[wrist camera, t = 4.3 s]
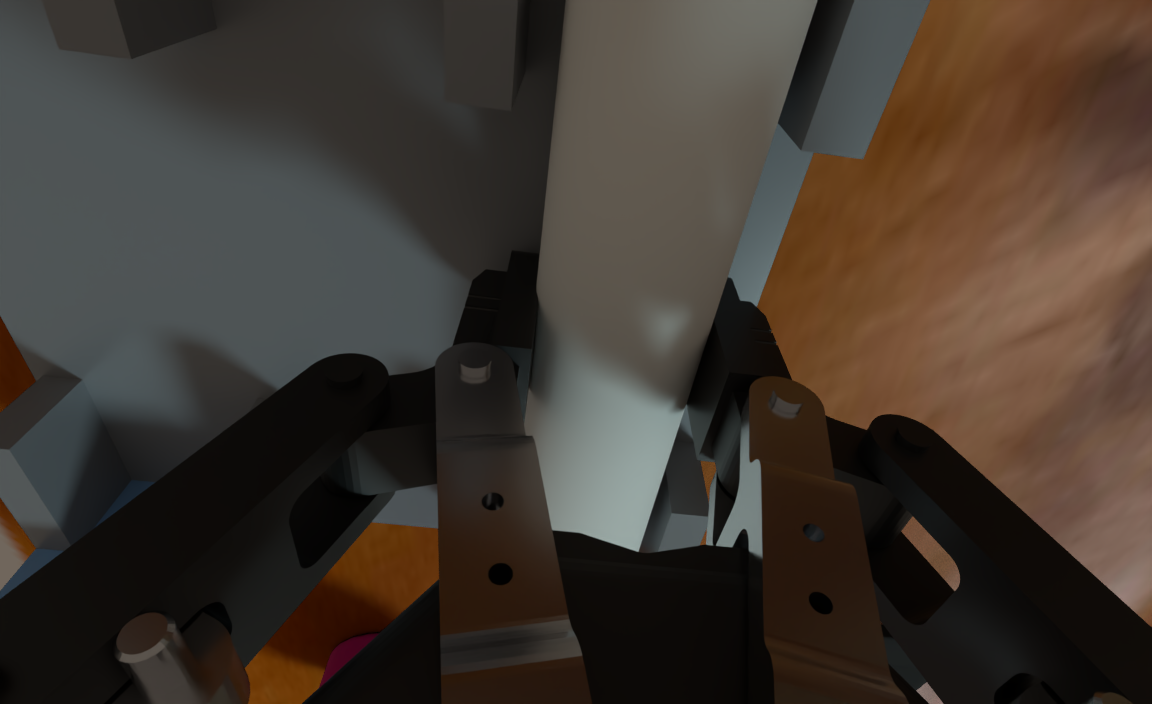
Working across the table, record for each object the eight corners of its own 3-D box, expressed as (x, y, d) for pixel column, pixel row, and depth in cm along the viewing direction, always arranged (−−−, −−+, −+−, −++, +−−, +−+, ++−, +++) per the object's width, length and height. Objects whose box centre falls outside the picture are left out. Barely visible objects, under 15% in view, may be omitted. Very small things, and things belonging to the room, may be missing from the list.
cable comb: (-356, -476, 8) (-1289, -842, 4) (932, -241, 9) (1197, -348, 5) (120, 472, 19) (-1, 620, 15) (663, 524, 21) (681, 674, 17)
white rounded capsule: (586, -177, 9) (583, -211, 6) (815, -139, 9) (915, -154, 6) (514, 507, 18) (501, 616, 16) (626, 518, 19) (632, 627, 16)
